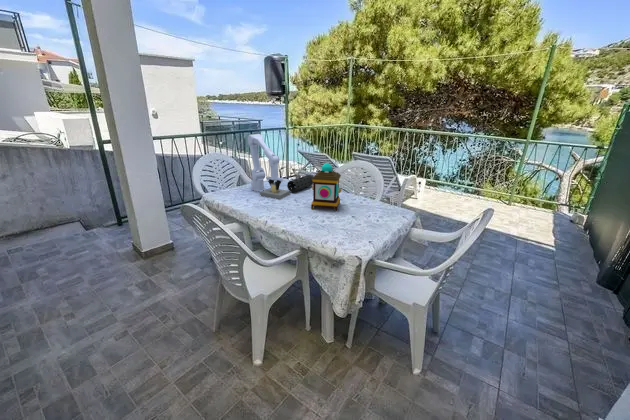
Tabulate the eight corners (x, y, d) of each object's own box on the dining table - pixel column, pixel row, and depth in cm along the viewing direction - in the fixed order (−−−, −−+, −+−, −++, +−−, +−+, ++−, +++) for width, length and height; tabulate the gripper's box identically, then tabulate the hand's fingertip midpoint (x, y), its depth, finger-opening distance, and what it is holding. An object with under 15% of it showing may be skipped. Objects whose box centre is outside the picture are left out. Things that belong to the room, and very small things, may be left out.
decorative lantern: (338, 212, 179) (340, 166, 169) (308, 210, 183) (309, 164, 173) (341, 202, 198) (344, 160, 187) (314, 200, 201) (315, 159, 191)
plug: (271, 192, 211) (270, 183, 208) (274, 191, 214) (273, 182, 212) (275, 193, 209) (275, 184, 207) (278, 191, 212) (278, 183, 210)
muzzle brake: (286, 192, 221) (286, 179, 217) (306, 184, 243) (306, 173, 240) (296, 194, 216) (296, 181, 213) (315, 186, 238) (315, 174, 235)
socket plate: (260, 195, 211) (260, 192, 210) (271, 191, 222) (270, 187, 221) (279, 199, 203) (279, 195, 202) (290, 194, 215) (290, 190, 214)
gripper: (263, 172, 206) (264, 189, 211) (279, 174, 200) (280, 192, 205) (268, 170, 212) (269, 187, 217) (284, 172, 206) (285, 189, 211)
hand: (275, 189), depth 211 cm, fingers closed on plug, 4 cm apart
